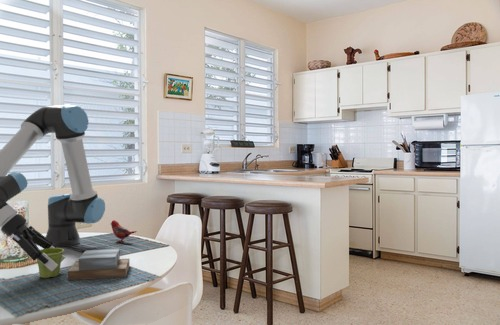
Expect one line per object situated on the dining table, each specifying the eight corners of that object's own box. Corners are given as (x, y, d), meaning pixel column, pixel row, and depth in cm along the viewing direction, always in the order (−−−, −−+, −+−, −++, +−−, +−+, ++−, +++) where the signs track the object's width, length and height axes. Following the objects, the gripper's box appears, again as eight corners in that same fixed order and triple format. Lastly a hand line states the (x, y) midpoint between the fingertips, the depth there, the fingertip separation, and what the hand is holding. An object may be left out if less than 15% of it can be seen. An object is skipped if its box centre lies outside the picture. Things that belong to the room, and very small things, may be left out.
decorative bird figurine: (113, 239, 200) (112, 219, 199) (139, 244, 191) (139, 222, 190) (108, 240, 197) (108, 220, 197) (134, 245, 188) (134, 223, 188)
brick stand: (76, 268, 151) (76, 250, 151) (129, 266, 155) (129, 248, 155) (67, 280, 139) (67, 259, 138) (125, 276, 142) (125, 257, 142)
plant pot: (52, 280, 138) (52, 255, 138) (28, 278, 140) (27, 253, 139) (69, 272, 147) (69, 248, 147) (46, 270, 149) (46, 247, 149)
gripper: (13, 223, 151) (59, 263, 154) (-14, 235, 129) (41, 282, 133) (28, 208, 152) (74, 248, 155) (4, 218, 130) (58, 265, 134)
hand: (59, 264), depth 144 cm, fingers closed on plant pot, 9 cm apart
